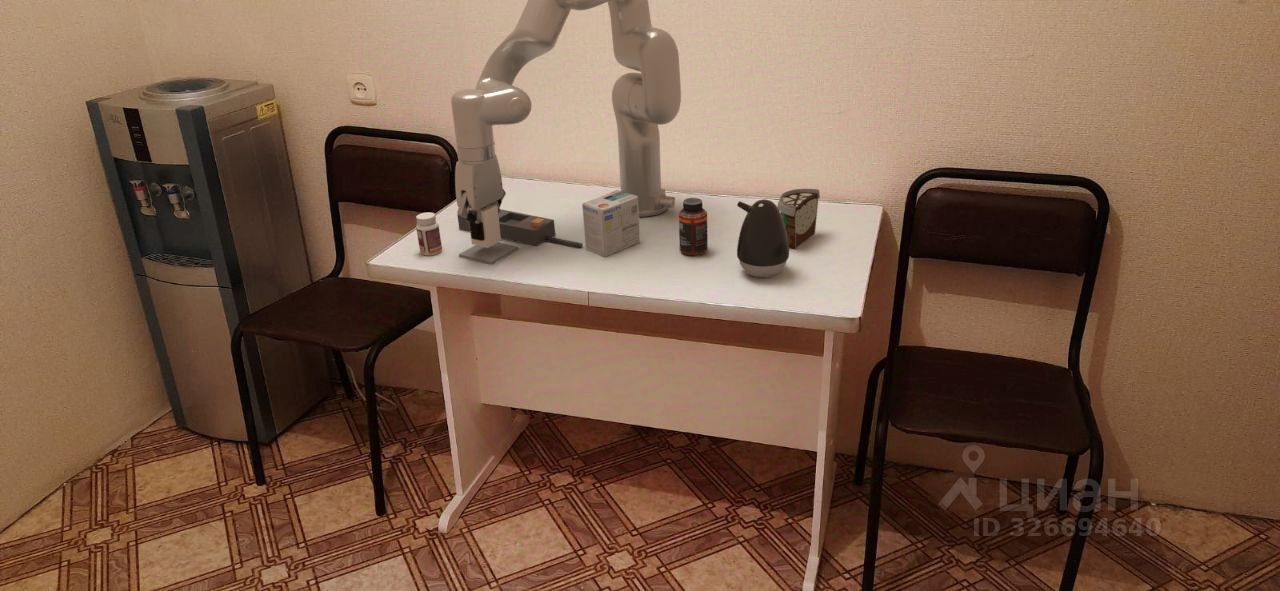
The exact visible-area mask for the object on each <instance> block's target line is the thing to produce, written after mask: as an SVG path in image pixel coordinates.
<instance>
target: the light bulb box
mask: <svg viewBox="0 0 1280 591" xmlns="http://www.w3.org/2000/svg"><path fill="white" fill-rule="evenodd" d="M582 217H583V228H584V229H583V231H584V241H585V242H584V243H585V249H586V250H587V251H588V252H589V251H590V252H592V253H595V254H597V255H599V256H601V257H604V258H606V257H608V256H610V255H612V254H615V253H617V252H620V251H622V250H624V249H627V248H630V247H632V246H633V245H636V244H638V243H639V244H640V243H641V234H640V230H641V229H640V217H639V208H638V196H636V195H632V194H629V193H625V192H622V191H621V190H618V189H617V190H614V191H611V192H609V193H607V194H605V195H601V196H599V197H597V198H594V199H591V200H589V201H586V202H583V203H582Z"/></svg>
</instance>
